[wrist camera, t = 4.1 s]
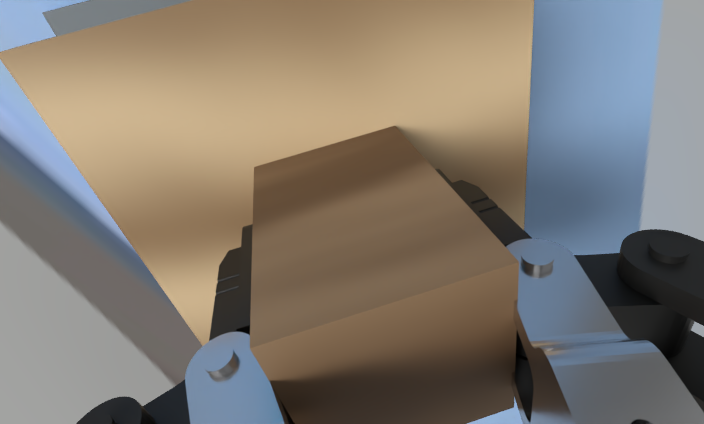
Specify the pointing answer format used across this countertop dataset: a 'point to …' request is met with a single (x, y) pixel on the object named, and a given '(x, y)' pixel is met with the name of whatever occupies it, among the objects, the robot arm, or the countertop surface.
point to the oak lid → (316, 183)
